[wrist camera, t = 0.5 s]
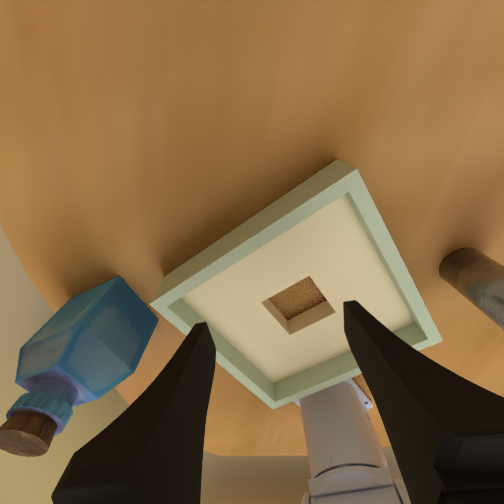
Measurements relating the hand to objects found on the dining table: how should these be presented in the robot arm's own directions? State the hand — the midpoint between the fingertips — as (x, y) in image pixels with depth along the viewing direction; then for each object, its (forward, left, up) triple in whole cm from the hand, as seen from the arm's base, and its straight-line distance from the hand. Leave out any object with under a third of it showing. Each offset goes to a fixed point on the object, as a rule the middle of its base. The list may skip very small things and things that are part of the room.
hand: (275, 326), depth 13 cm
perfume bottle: (+3, +17, -10) cm, 20 cm away
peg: (-12, -13, -10) cm, 21 cm away
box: (-6, +1, -10) cm, 12 cm away
